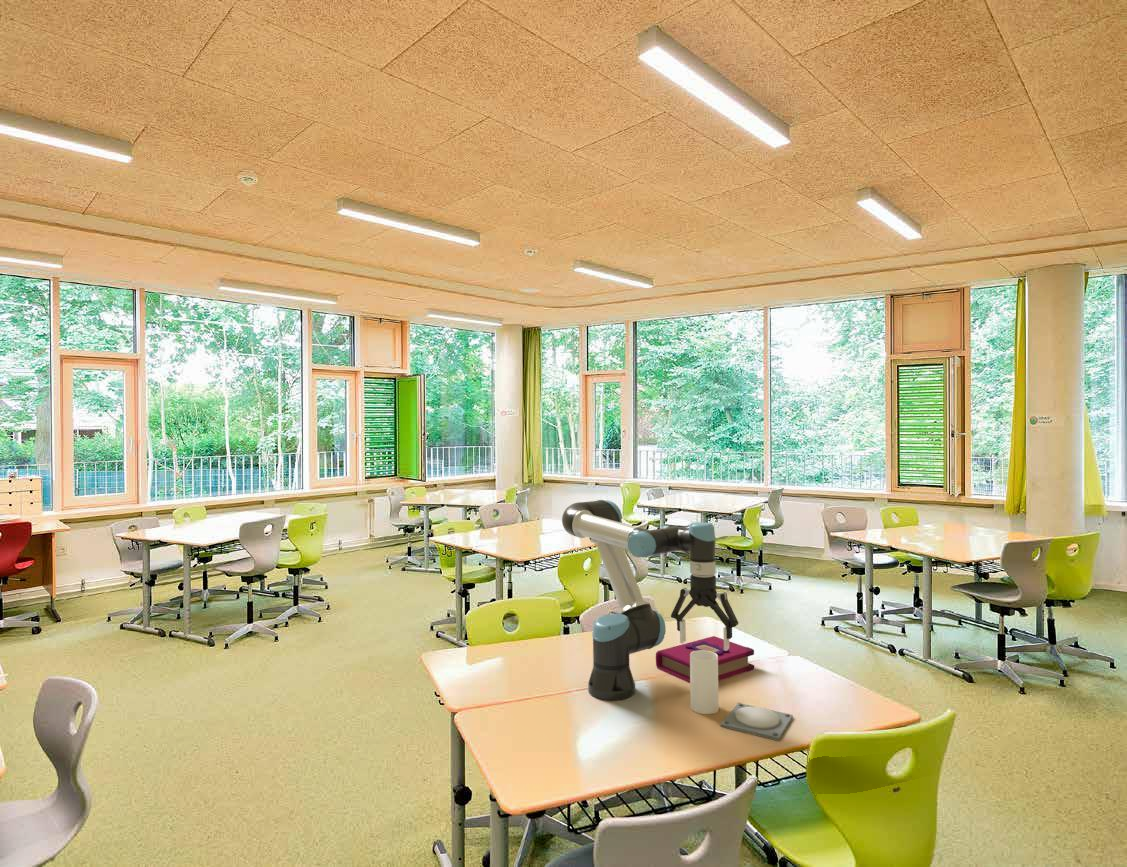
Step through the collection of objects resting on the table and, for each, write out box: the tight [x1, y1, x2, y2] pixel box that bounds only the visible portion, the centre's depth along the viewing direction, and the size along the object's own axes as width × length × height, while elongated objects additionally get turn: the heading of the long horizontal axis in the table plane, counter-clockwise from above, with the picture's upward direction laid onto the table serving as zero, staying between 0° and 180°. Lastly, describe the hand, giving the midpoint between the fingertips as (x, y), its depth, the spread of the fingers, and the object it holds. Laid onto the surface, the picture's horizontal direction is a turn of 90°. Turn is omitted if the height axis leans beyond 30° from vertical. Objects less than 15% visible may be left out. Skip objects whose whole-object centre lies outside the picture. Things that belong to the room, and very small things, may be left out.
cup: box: [689, 650, 720, 715], centre depth 188 cm, size 8×8×16 cm
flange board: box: [720, 702, 794, 741], centre depth 179 cm, size 16×16×2 cm
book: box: [655, 635, 755, 684], centre depth 220 cm, size 21×28×8 cm
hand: (704, 645), depth 188 cm, fingers open, 13 cm apart
